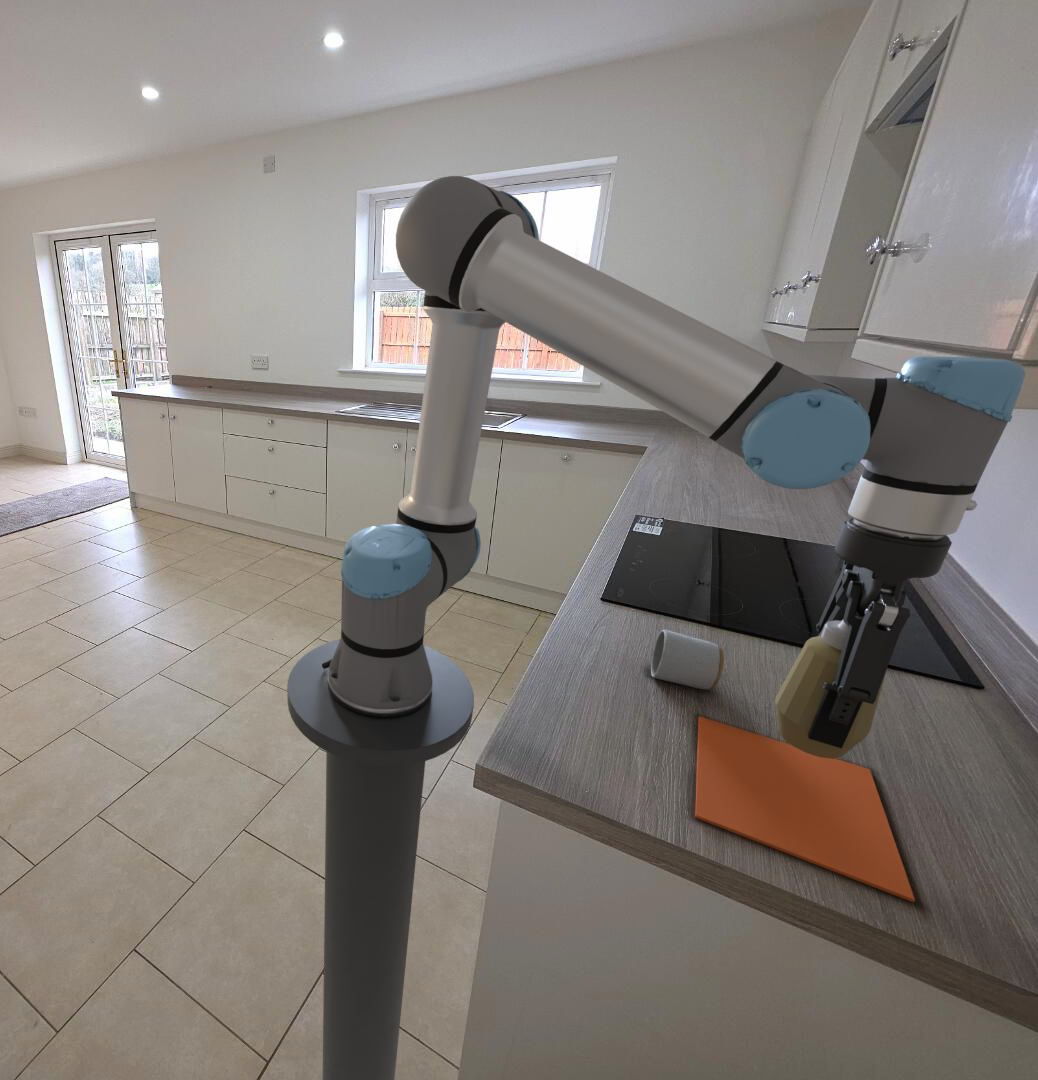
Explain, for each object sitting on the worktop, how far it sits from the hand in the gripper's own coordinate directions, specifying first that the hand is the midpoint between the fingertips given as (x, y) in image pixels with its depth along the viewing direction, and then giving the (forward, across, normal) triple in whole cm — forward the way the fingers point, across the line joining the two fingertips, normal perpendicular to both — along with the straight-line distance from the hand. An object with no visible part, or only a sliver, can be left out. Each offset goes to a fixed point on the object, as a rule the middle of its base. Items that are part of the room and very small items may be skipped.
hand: (818, 718), depth 62 cm
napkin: (+11, 0, 0) cm, 11 cm away
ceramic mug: (+11, +20, +12) cm, 26 cm away
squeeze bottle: (+3, 0, 0) cm, 3 cm away
